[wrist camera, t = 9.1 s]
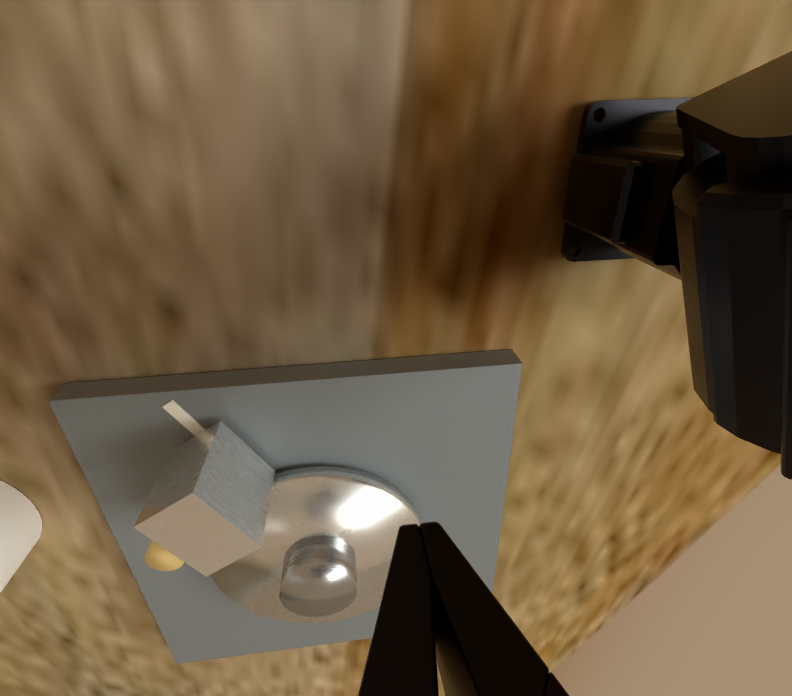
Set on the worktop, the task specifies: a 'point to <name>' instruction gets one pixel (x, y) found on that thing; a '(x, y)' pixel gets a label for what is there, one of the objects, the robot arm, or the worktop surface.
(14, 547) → the cylindrical container
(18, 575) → the worktop surface
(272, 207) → the worktop surface
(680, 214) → the robot arm
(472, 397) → the base board
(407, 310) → the worktop surface
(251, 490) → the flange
